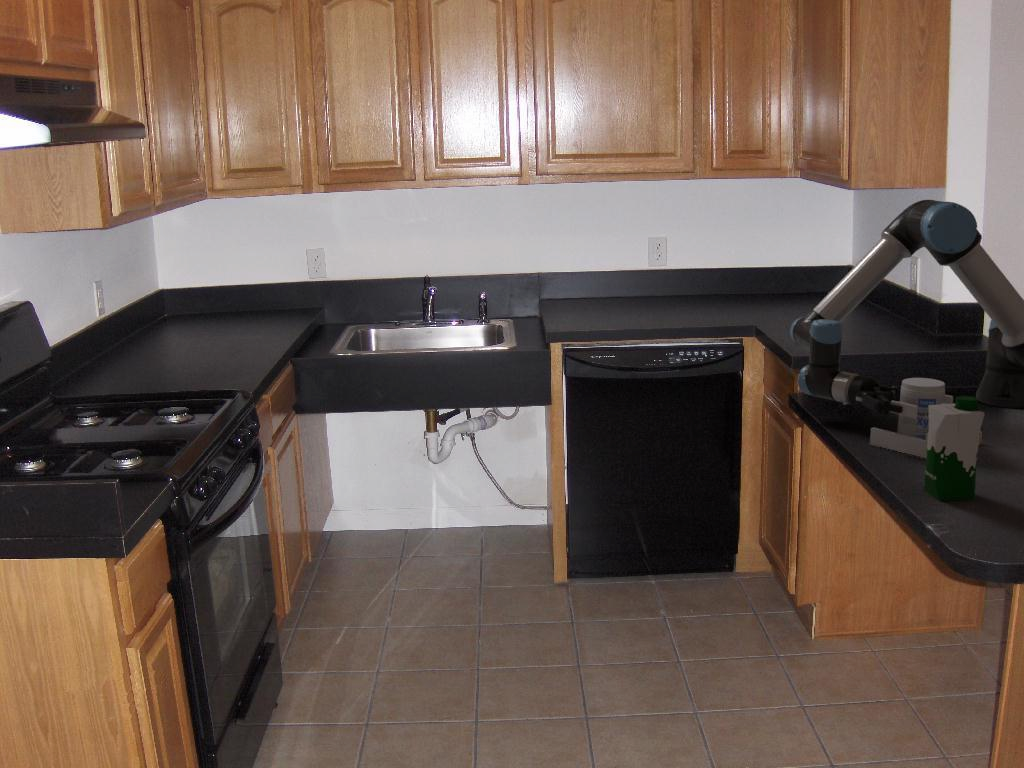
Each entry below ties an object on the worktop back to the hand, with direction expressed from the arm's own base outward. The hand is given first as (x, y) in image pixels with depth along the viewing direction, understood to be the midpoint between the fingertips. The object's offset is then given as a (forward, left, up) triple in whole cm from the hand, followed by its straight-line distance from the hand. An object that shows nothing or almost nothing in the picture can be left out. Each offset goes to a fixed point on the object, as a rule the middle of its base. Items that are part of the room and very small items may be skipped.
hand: (934, 407), depth 236 cm
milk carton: (+16, +27, -10) cm, 33 cm away
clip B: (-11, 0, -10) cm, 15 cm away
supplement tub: (+1, -3, -10) cm, 10 cm away
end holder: (+1, -3, -10) cm, 11 cm away
